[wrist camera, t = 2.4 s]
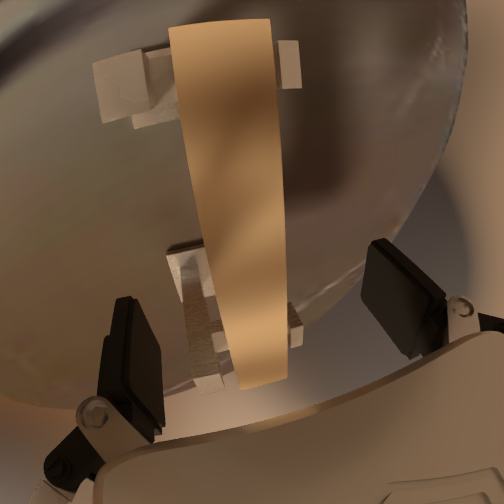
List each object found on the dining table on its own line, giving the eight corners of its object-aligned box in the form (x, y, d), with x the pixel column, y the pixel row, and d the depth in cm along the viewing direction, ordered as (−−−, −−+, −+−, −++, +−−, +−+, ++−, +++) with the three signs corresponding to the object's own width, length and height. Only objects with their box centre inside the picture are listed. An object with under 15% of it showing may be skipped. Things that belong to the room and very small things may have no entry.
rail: (170, 43, 8) (168, 27, 6) (246, 34, 9) (269, 19, 6) (230, 353, 19) (240, 390, 16) (273, 342, 19) (287, 377, 17)
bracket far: (166, 251, 22) (171, 366, 13) (260, 231, 23) (316, 330, 15) (180, 297, 25) (195, 407, 16) (264, 278, 26) (310, 377, 17)
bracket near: (123, 59, 14) (65, 30, 5) (241, 39, 15) (315, -4, 6) (135, 127, 17) (92, 175, 8) (248, 106, 18) (325, 132, 9)
